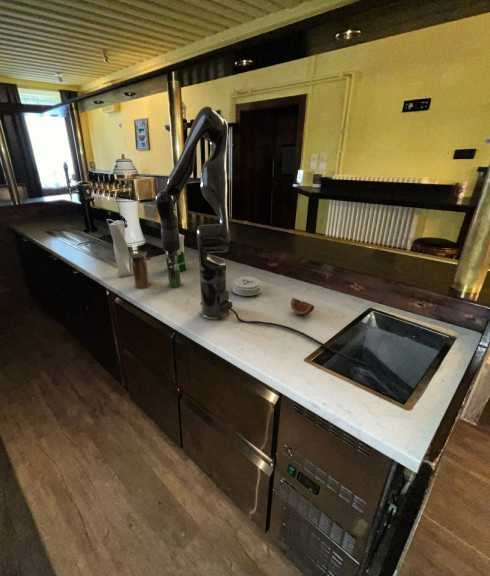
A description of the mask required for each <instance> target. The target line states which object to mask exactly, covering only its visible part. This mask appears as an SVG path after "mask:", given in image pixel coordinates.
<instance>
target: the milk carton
mask: <svg viewBox="0 0 490 576" xmlns="http://www.w3.org/2000/svg"><path fill="white" fill-rule="evenodd" d="M179 239H180V249H179V250H177V254H178V262H177V263H178V265H179V268H180V273H181V272H183V271H186V270H187V265H186V259H185V244H184V242H185V241H184V240H185V235H183V234H181V233H179ZM167 254H168V252H167V251H165V260H166V259H167ZM167 269H168V266H167V265H166V270H167Z"/></svg>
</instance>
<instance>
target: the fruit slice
mask: <svg viewBox="0 0 490 576" xmlns="http://www.w3.org/2000/svg"><path fill="white" fill-rule="evenodd" d="M290 307H291V309H292V311H293V312H294V313H295V314H297V315H299V316H307V315H309V314H311V313H312V312H313V311H314V310H315V306H314V305H313V304H312V303H309V302H306V301H304V300H300V299H297V298H295V297H292V299H291V300H290Z"/></svg>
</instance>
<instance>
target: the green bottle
mask: <svg viewBox="0 0 490 576" xmlns="http://www.w3.org/2000/svg"><path fill="white" fill-rule="evenodd" d="M170 268H172V266H170ZM166 270H167V278H168V287H169V288H172V289H173V288H176V289H177V288H179V287H181V286H182V279H181V272H180V268H179V265H178V264H176V265H175V276H176V277H175V278H170V271H168V269H167V268H166Z"/></svg>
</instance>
